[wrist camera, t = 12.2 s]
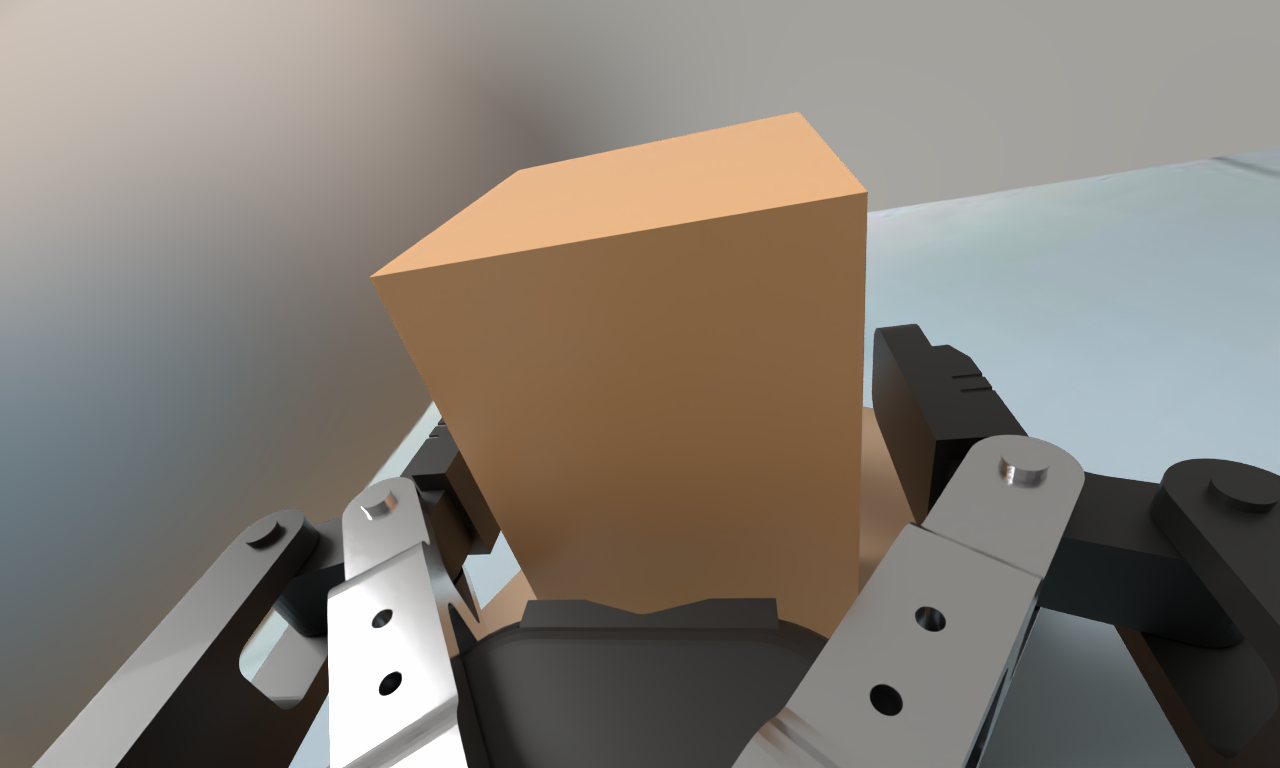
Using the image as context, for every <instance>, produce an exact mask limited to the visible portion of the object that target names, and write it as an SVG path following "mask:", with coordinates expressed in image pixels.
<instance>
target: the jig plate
mask: <svg viewBox="0 0 1280 768" xmlns="http://www.w3.org/2000/svg"><path fill="white" fill-rule="evenodd" d="M910 522H914V523H916V522H915V519H914V517H913V514H912V511H911V509H910V506H909V504H908V501H907V498H906V496H905V493H904V491H903V488H902V485H901V483H900V480H899V478H898V475H897V472H896V470H895V467H894V465H893V462H892V459H891V457H890V454H889V452H888V449H887V446H886V444H885V441H884V439H883V436H882V433H881V431H880V428H879V426H878V423H877V420H876V417H875V413H874V409H872V408H868V407H863V409H862V452H861V495H860V538H859V581H858V596H859V594H860V593H861V591H862V590H863V588H864V587H865V585H866V584H867V582H868V581H869V579H870V578H871V576H872V575H873V573H874V571H875V570H876V568H877V567H878V565H879V564H880V562H881V561H882V559H883V558H884V556H885V555H886V553H887V552H888V550H889V549H890V547H891V546H892V544H893V543H894V541H895V540H896V538H897V537H898V535H899V534H900V532H901V531H902V530H903V528H904V527H905V526H906V525H907V524H908V523H910ZM528 600H537V598H536V596H535V594H534V592H533V590H532V588H531V587H530V585H529V583H528V581H527V579H526V577H525V575H524V573H523V571H522V569H521V570H520V571H519V572H518V573H517V574H516V575H515V576H514V577H513V578H512V579H511V581H510V582H509V583H508V584H507V585H506V586H505V587H504V588H503V589H502V590H501V591H500V592H499V593H498V594H497V595H496V596H495V597H494V598H493V599H492V600H491V601H490V602H489V603H488V604H487V605H486V606H485V607H484V608H483V609H482V610H481V612H482V615H483V618H484V621H485V624H486V627H487V630H488V633H489V634H490V633H492V632H494V631H496V630H498V629H500V628H502V627H505V626H507V625H510V624H512V623H515V622H518V621H521V619H522V616H523V613H524V610H525V607H526V604H527V601H528ZM327 768H331V764H330V765H329V766H328V767H327Z"/></svg>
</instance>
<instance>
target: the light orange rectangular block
mask: <svg viewBox="0 0 1280 768" xmlns="http://www.w3.org/2000/svg"><path fill="white" fill-rule="evenodd" d="M867 194H868V192H867V191H866V189H865V188H864V187H863V186H862V185H861V184H860V182H859V181H858V180H857V179H856V178H855V177H854V176H853V174H852V173H851V172H850V171H849V170H848V169H847V168H846V166H845V165H844V164H843V163H842V161H841V160H840V159H839V158H838V157H837V156H836V155H835V153H834V152H833V151H832V150H831V149H830V148H829V146H827V144H826V143H825V142H824V141H823V139H822V138H821V137H820V136H819V135H818V134H817V132H816V131H815V130H814V129H813V128H812V127H811V125H810V124H809V123H808V122H807V121H806V120H805V119H804V117H803V116H802V115H801V114H800V113H799V112H795V113H790V114H785V115H781V116H776V117H771V118H766V119H762V120H757V121H752V122H747V123H742V124H737V125H733V126H728V127H724V128H718V129H714V130H709V131H704V132H699V133H694V134H690V135H685V136H681V137H676V138H671V139H666V140H661V141H657V142H652V143H647V144H642V145H638V146H632V147H628V148H623V149H618V150H613V151H609V152H604V153H599V154H594V155H590V156H585V157H580V158H575V159H570V160H566V161H561V162H556V163H551V164H547V165H542V166H537V167H532V168H528V169H523V170H518V171H517V172H516V173H514V174H513V175H511V176H510V177H509V178H507V179H506V180H504V181H503V182H502V183H500V184H499V185H497V186H496V187H495V188H493V189H492V190H490V191H489V192H488V193H486V194H485V195H484V196H482V197H481V198H480V199H478V200H477V201H475V202H474V203H472V204H471V205H470V206H468V207H467V208H465V209H464V210H463V211H461V212H460V213H458V214H457V215H456V216H454V217H453V218H452V219H450V220H449V221H447V222H446V223H444V224H443V225H442V226H440V227H439V228H438V229H436V230H435V231H433V232H432V233H431V234H429V235H428V236H426V237H425V238H424V239H422V240H421V241H419V242H418V243H417V244H415V245H414V246H412V247H411V248H410V249H408V250H407V251H406V252H404V253H403V254H401V255H400V256H398V257H397V258H396V259H394V260H393V261H391V262H390V263H389V264H387V265H386V266H385V267H383V268H382V269H380V270H379V271H378V272H376V273H375V274H373V275H372V276H371V277H370V279H371V281H372V283H373V285H374V287H375V289H376V291H377V293H378V295H379V297H380V298H381V300H382V302H383V304H384V306H385V308H386V310H387V312H388V314H389V316H390V317H391V319H392V322H393V323H394V325H395V327H396V329H397V331H398V333H399V335H400V337H401V339H402V341H403V343H404V344H405V347H406V348H407V350H408V352H409V354H410V356H411V358H412V360H413V362H414V364H415V366H416V368H417V370H418V371H419V373H420V375H421V377H422V379H423V381H424V383H425V385H426V387H427V389H428V391H429V393H430V395H431V396H432V398H433V400H434V402H435V404H436V406H437V408H438V410H439V412H440V414H441V416H442V418H443V419H444V421H445V423H446V425H447V427H448V429H449V431H450V433H451V435H452V437H453V439H454V441H455V443H456V444H457V446H458V448H459V450H460V452H461V454H462V456H463V458H464V460H465V462H466V464H467V466H468V467H469V469H470V471H471V473H472V475H473V477H474V479H475V481H476V483H477V485H478V487H479V489H480V491H481V492H482V494H483V496H484V498H485V500H486V502H487V504H488V506H489V508H490V510H491V512H492V514H493V515H494V517H495V519H496V521H497V523H498V525H499V527H500V529H501V531H502V533H503V535H504V537H505V539H506V540H507V542H508V544H509V546H510V548H511V550H512V552H513V554H514V556H515V558H516V560H517V562H518V564H519V565H520V567H521V569H522V571H523V573H524V575H525V577H526V579H527V581H528V583H529V585H530V587H531V588H532V590H533V592H534V594H535V596H536V598H537V600H588V601H591V602H595V603H599V604H603V605H607V606H610V607H614V608H618V609H622V610H626V611H629V612H633V613H637V614H649V613H653V612H657V611H661V610H665V609H669V608H673V607H677V606H682V605H686V604H690V603H694V602H698V601H702V600H706V599H710V598H776V603H777V611H778V619H781V620H785V621H789V622H792V623H795V624H798V625H800V626H803V627H806V628H808V629H811V630H813V631H815V632H817V633H819V634H821V635H823V636H825V637H827V638H828V639H830V638H831V636H832V635H833V633H834V632H835V630H836V629H837V627H838V626H839V624H840V623H841V621H842V620H843V618H844V617H845V615H846V614H847V612H848V611H849V609H850V608H851V606H852V605H853V603H854V602H855V600H856V599H857V597H858V581H859V538H860V495H861V452H862V409H863V366H864V323H865V280H866V237H867Z"/></svg>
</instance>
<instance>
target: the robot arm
mask: <svg viewBox="0 0 1280 768" xmlns="http://www.w3.org/2000/svg"><path fill="white" fill-rule="evenodd" d="M872 400H873V408H874V413H875V417H876V420H877V423H878V426H879V428H880V431H881V433H882V436H883V439H884V441H885V444H886V446H887V449H888V452H889V454H890V457H891V459H892V462H893V465H894V467H895V470H896V472H897V475H898V478H899V480H900V483H901V485H902V488H903V491H904V493H905V496H906V498H907V501H908V504H909V506H910V509H911V511H912V514H913V517H914V519H915V522H916V523H914V522H910V523H908V524H907V525H906V526H905V527H904V528H903V530H902V531H901V532H900V534H899V535H898V537H897V538H896V540H895V541H894V543H893V544H892V546H891V547H890V549H889V550H888V552H887V553H886V555H885V556H884V558H883V559H882V561H881V562H880V564H879V565H878V567H877V568H876V570H875V571H874V573H873V575H872V576H871V578H870V579H869V581H868V582H867V584H866V585H865V587H864V588H863V590H862V591H861V593H860V594H859V596H858V597H857V599H856V600H855V602H854V603H853V605H852V606H851V608H850V609H849V611H848V612H847V614H846V615H845V617H844V618H843V620H842V621H841V623H840V624H839V626H838V627H837V629H836V630H835V632H834V633H833V635H832V636H831V638H830V639H828V638H827V637H825V636H823V635H821V634H819V633H817V632H815V631H813V630H811V629H808V628H806V627H803V626H800V625H798V624H795V623H792V622H789V621H785V620H781V619H778V611H777V603H776V598H710V599H706V600H702V601H698V602H694V603H690V604H686V605H682V606H677V607H673V608H669V609H665V610H661V611H657V612H653V613H649V614H637V613H633V612H629V611H626V610H622V609H618V608H614V607H610V606H607V605H603V604H599V603H595V602H591V601H588V600H528V601H527V604H526V607H525V610H524V613H523V616H522V619H521V621H518V622H515V623H512V624H510V625H507V626H505V627H502V628H500V629H498V630H496V631H494V632H492V633H490V634H489V633H488V630H487V627H486V624H485V621H484V618H483V615H482V612H481V609H480V606H479V603H478V600H477V597H476V594H475V591H474V588H473V585H472V582H471V579H470V576H469V573H468V571H467V570H466V568H465V566H464V565H463V564H464V562H465V560H466V558H467V555H479V554H490V553H491V551H492V549H493V547H494V544H495V542H496V540H497V538H498V535H499V533H500V531H501V529H500V527H499V525H498V523H497V521H496V519H495V517H494V515H493V514H492V512H491V510H490V508H489V506H488V504H487V502H486V500H485V498H484V496H483V494H482V492H481V491H480V489H479V487H478V485H477V483H476V481H475V479H474V477H473V475H472V473H471V471H470V469H469V467H468V466H467V464H466V462H465V460H464V458H463V456H462V454H461V452H460V450H459V448H458V446H457V444H456V443H455V441H454V439H453V437H452V435H451V433H450V431H449V429H448V427H447V425H446V423H445V421H444V419H443V418H441V420H440V421H439V422H438V426H436V427H435V428H434V429H433V431H432V432H431V434H430V435H429V439H426V441H425V442H424V443H423V445H422V446H421V448H420V449H419V450H418V452H417V453H416V455H415V456H414V457H413V459H412V460H411V462H410V463H409V464H408V466H407V467H406V469H405V470H404V471H403V473H402V474H401V476H400V477H395V478H390V479H386V480H383V481H381V482H378V483H376V484H374V485H372V486H370V487H369V488H367V489H365V490H364V491H363V492H361V493H360V494H359V495H358V496H356V497H355V498H354V499H353V501H351V502H350V504H349V505H348V506H347V508H346V510H345V511H344V514H343V516H341V517H338V518H335V519H332V520H328V521H325V522H322V523H318V524H315V525H312V524H311V523H310V521H309V520H308V519H307V518H306V516H305V515H304V514H303V513H302V512H301V511H300V510H298V509H284V510H280V511H277V512H275V513H272V514H269V515H267V516H265V517H263V518H262V519H260V520H258V521H256V522H255V523H254V524H252V525H250V526H249V527H248V528H247V529H245V530H244V531H243V532H242V533H241V534H240V535H239V536H238V537H237V538H236V539H235V540H234V541H233V542H232V543H231V544H230V545H229V547H228V548H227V549H226V550H225V551H224V552H223V553H222V554H221V555H220V557H219V558H218V559H217V560H216V561H215V562H214V563H213V564H212V566H211V567H210V568H209V569H208V570H207V571H206V572H205V573H204V575H203V576H202V577H201V578H200V579H199V580H198V581H197V582H196V584H195V585H194V586H193V587H192V588H191V589H190V591H188V593H187V594H186V595H185V596H184V597H183V598H182V599H181V600H180V602H179V603H178V604H177V605H176V606H175V607H174V608H173V609H172V611H171V612H170V613H169V614H168V615H167V616H166V617H165V618H164V620H163V621H162V622H161V623H160V624H159V625H158V626H157V628H156V629H155V630H154V631H153V632H152V633H151V634H150V635H149V636H148V638H147V639H146V640H145V641H144V642H143V643H142V644H141V646H140V647H139V648H138V649H137V650H136V651H135V652H134V653H133V654H132V656H131V657H130V658H129V659H128V660H127V661H126V662H125V663H124V665H123V666H122V667H121V668H120V669H119V670H118V671H117V673H115V675H114V676H113V677H112V678H111V679H110V680H109V681H108V683H107V684H106V685H105V686H104V687H103V688H102V689H101V691H99V693H98V694H97V695H96V696H95V697H94V698H93V699H92V700H91V702H90V703H89V704H88V705H87V706H86V707H85V708H84V710H83V711H82V712H81V713H80V714H79V715H78V716H77V717H76V718H75V720H74V721H73V722H72V723H71V724H70V725H69V726H68V728H67V729H66V730H65V731H64V732H63V733H62V734H61V735H60V736H59V738H58V739H57V740H56V741H55V742H54V743H53V744H52V746H51V747H50V748H49V749H48V750H47V751H46V752H45V753H44V754H43V756H42V757H41V758H40V759H39V760H38V761H37V762H36V763H35V765H34V766H33V767H32V768H288V767H289V765H290V763H291V762H292V760H293V758H294V756H295V754H296V752H297V751H298V749H299V747H300V745H301V743H302V741H303V739H304V738H305V736H306V734H307V732H308V730H309V728H310V726H311V725H312V723H313V721H314V719H315V717H316V715H317V714H318V712H319V710H320V708H321V706H322V704H323V702H324V701H325V699H326V697H327V695H328V693H329V698H330V752H331V768H978V767H979V765H980V762H981V760H982V757H983V755H984V752H985V750H986V747H987V745H988V742H989V739H990V737H991V734H992V732H993V729H994V726H995V723H996V721H997V718H998V715H999V713H1000V710H1001V707H1002V704H1003V702H1004V699H1005V697H1006V694H1007V692H1008V689H1009V687H1010V684H1011V682H1012V679H1013V677H1014V674H1015V672H1016V669H1017V667H1018V665H1019V662H1020V660H1021V657H1022V655H1023V652H1024V650H1025V647H1026V645H1027V642H1028V640H1029V637H1030V635H1031V632H1032V630H1033V628H1034V625H1035V623H1036V620H1037V618H1038V615H1039V613H1040V610H1041V608H1042V607H1043V608H1047V609H1051V610H1055V611H1059V612H1063V613H1067V614H1071V615H1075V616H1079V617H1083V618H1087V619H1091V620H1095V621H1100V622H1104V623H1108V624H1112V625H1114V626H1115V628H1116V630H1117V631H1118V633H1119V635H1120V637H1121V638H1122V640H1123V642H1124V644H1125V645H1126V647H1127V649H1128V651H1129V652H1130V654H1131V656H1132V658H1133V659H1134V661H1135V663H1136V665H1137V666H1138V668H1139V670H1140V672H1141V673H1142V675H1143V677H1144V679H1145V680H1146V682H1147V684H1148V685H1149V687H1150V689H1151V691H1152V692H1153V694H1154V696H1155V698H1156V699H1157V701H1158V703H1159V705H1160V706H1161V708H1162V710H1163V712H1164V713H1165V715H1166V717H1167V719H1168V720H1169V722H1170V724H1171V726H1172V727H1173V729H1174V731H1175V733H1176V734H1177V736H1178V738H1179V740H1180V741H1181V743H1182V745H1183V747H1184V748H1185V750H1186V752H1187V754H1188V755H1189V757H1190V759H1191V761H1192V762H1193V764H1194V766H1195V768H1280V476H1279V475H1276V474H1274V473H1272V472H1269V471H1267V470H1264V469H1261V468H1258V467H1255V466H1251V465H1247V464H1243V463H1239V462H1234V461H1228V460H1220V459H1191V460H1186V461H1181V462H1179V463H1176V464H1174V465H1172V466H1171V467H1169V468H1168V469H1167V471H1166V472H1165V473H1164V476H1163V478H1162V480H1161V482H1160V484H1158V483H1151V482H1144V481H1137V480H1130V479H1123V478H1116V477H1109V476H1103V475H1097V474H1092V473H1088V472H1085V471H1083V469H1082V467H1081V465H1080V464H1079V463H1078V461H1077V460H1076V459H1075V458H1074V457H1073V456H1072V455H1070V454H1069V453H1067V452H1066V451H1065V450H1063V449H1061V448H1059V447H1058V446H1056V445H1053V444H1051V443H1049V442H1046V441H1043V440H1040V439H1036V438H1032V437H1029V436H1028V435H1027V433H1026V432H1025V431H1024V429H1023V428H1022V427H1021V425H1020V424H1019V423H1018V421H1017V420H1016V419H1015V417H1014V416H1013V414H1012V413H1011V412H1010V410H1009V409H1008V408H1007V406H1006V405H1005V404H1004V402H1003V401H1002V400H1001V398H1000V397H999V396H998V394H997V393H996V391H995V390H992V386H991V385H990V383H989V382H988V381H987V379H986V378H985V377H982V373H981V371H980V370H979V368H978V367H977V366H976V364H975V363H974V362H973V360H972V359H971V358H970V357H969V356H967V355H965V354H964V353H962V352H960V351H958V350H957V349H955V348H953V347H951V346H950V345H941V346H931V344H930V343H929V341H928V339H927V338H926V336H925V335H924V333H923V332H922V330H921V329H920V327H919V326H918V325H917V324H909V325H900V326H892V327H883V328H877V329H876V330H875V334H874V347H873V376H872ZM271 607H273V608H274V609H275V610H276V611H277V612H278V613H279V614H280V615H281V616H282V617H283V618H284V619H285V620H286V621H287V622H288V623H289V626H288V627H287V629H286V630H285V632H284V633H283V635H282V636H281V638H280V639H279V641H278V642H277V644H276V645H275V646H274V648H273V649H272V651H271V652H270V654H269V655H268V657H267V658H266V660H265V661H264V663H263V664H262V666H261V667H260V669H259V670H258V672H257V673H256V675H255V676H254V678H253V679H252V681H251V682H249V681H248V680H247V679H246V678H245V677H244V676H243V675H242V674H241V672H240V669H239V658H240V654H241V651H242V649H243V647H244V645H245V644H246V642H247V641H248V639H249V638H250V637H251V635H252V634H253V632H254V631H255V629H256V628H257V627H258V625H259V624H260V623H261V621H262V620H263V618H264V617H265V616H266V614H267V613H268V612H269V610H270V609H271Z"/></svg>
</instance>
